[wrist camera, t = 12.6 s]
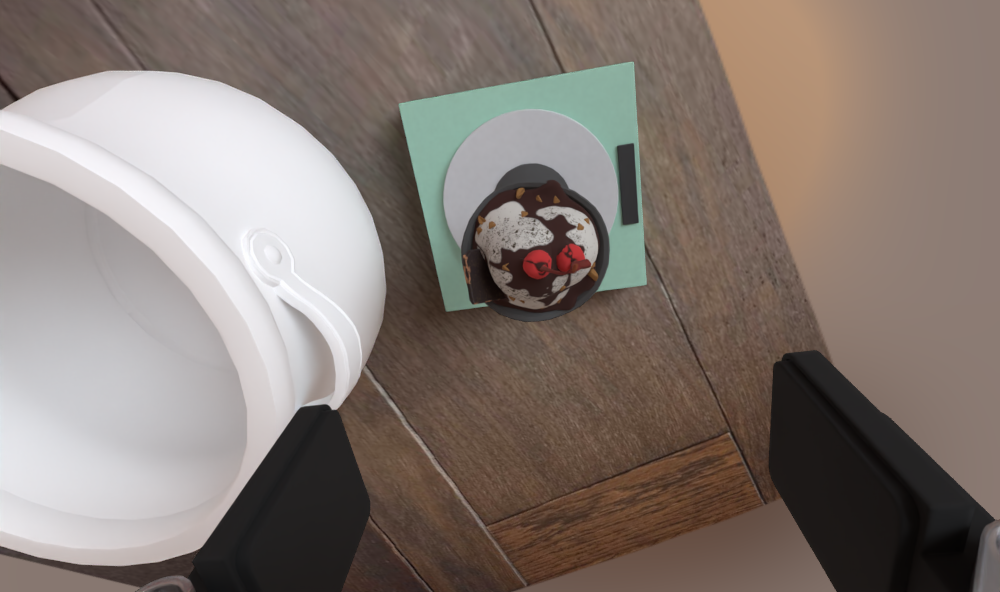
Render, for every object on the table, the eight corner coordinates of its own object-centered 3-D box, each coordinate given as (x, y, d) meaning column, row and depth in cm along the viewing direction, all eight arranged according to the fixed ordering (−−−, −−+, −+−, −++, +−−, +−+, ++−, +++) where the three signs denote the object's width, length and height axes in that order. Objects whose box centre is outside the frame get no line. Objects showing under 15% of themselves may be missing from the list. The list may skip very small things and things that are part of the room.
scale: (626, 62, 31) (636, 61, 29) (639, 272, 37) (648, 288, 34) (406, 101, 33) (395, 104, 30) (450, 298, 38) (444, 315, 35)
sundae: (601, 166, 31) (663, 241, 17) (562, 265, 34) (589, 398, 20) (497, 132, 30) (476, 180, 17) (467, 235, 33) (426, 350, 19)
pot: (95, 373, 42) (-166, 556, 26) (10, 49, 32) (-490, 25, 16) (406, 407, 42) (335, 611, 26) (416, 93, 32) (312, 113, 16)
